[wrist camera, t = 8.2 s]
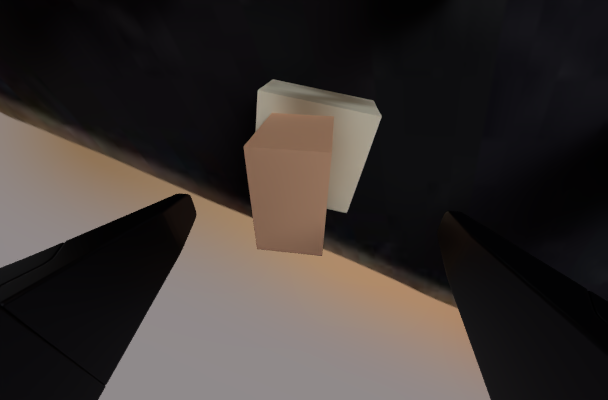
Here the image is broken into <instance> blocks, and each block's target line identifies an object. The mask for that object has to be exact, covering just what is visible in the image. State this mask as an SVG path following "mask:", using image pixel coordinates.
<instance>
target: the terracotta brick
mask: <svg viewBox="0 0 608 400" xmlns="http://www.w3.org/2000/svg"><path fill="white" fill-rule="evenodd" d="M333 126H334V116H318V115H301V114H283V113H271V114H270V115H269V117H268V118H267V119H266V120H265V121H264V123H263V124H262V125H261V126H260V127H259V129H258V130H257V131H256V132H255V133H254V135H253V136H252V137H251V138H250V139H249V141H248V142H247V143H246V144H245V145H244V154H245V161H246V169H247V176H248V184H249V192H250V199H251V207H252V214H253V222H254V229H255V236H256V245H257V249H262V250H272V251H281V252H290V253H301V254H310V255H318V256H322V251H323V240H324V230H325V220H326V209H327V199H328V189H329V178H330V168H331V157H332V143H333Z"/></svg>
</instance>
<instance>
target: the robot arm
mask: <svg viewBox="0 0 608 400" xmlns="http://www.w3.org/2000/svg"><path fill="white" fill-rule="evenodd" d="M195 218H196V210H195V207H194V204H193V201H192V198H191V196H190V195H188V194H175V195H173V196H171V197H168V198H166V199H164V200H161V201H159V202H157V203H155V204H152V205H150V206H147V207H145V208H143V209H140V210H138V211H136V212H133V213H131V214H129V215H126V216H124V217H121V218H119V219H117V220H115V221H112V222H110V223H107V224H105V225H103V226H100V227H98V228H96V229H93V230H91V231H89V232H86V233H84V234H82V235H79V236H77V237H75V238H72V239H70V240H67V241H66V242H65V243H60V244H58V245H56V246H53V247H51V248H49V249H46V250H44V251H41V252H39V253H36V254H34V255H32V256H29V257H27V258H25V259H22V260H19V261H17V262H14V263H12V264H9V265H7V266H4V267H2V268H0V400H98V399H99V397H100V395H101V394H102V392H103V390H104V388H105V385H106V384H107V382H108V381H109V379H110V377H111V375H112V374H113V372H114V370H115V368H116V367H117V365H118V363H119V361H120V360H121V358H122V356H123V354H124V352H125V351H126V349H127V347H128V345H129V344H130V342H131V340H132V338H133V336H134V335H135V333H136V331H137V329H138V328H139V326H140V324H141V322H142V321H143V319H144V317H145V315H146V313H147V311H148V310H149V308H150V306H151V305H152V302H153V301H154V299H155V297H156V296H157V294H158V292H159V290H160V289H161V287H162V285H163V283H164V281H165V280H166V278H167V276H168V274H169V273H170V271H171V269H172V267H173V265H174V264H175V262H176V260H177V258H178V257H179V255H180V253H181V251H182V249H183V246H184V244H185V242H186V240H187V237H188V235H189V233H190V230H191V228H192V226H193V223H194V221H195ZM437 236H438V240H439V245H440V249H441V254H442V258H443V262H444V267H445V271H446V275H447V278H448V281H449V284H450V287H451V290H452V293H453V295H454V298H455V301H456V304H457V307H458V309H459V312H460V315H461V318H462V320H463V323H464V326H465V329H466V332H467V334H468V337H469V340H470V343H471V345H472V348H473V351H474V354H475V357H476V359H477V362H478V365H479V368H480V371H481V373H482V376H483V379H484V382H485V385H486V387H487V390H488V393H489V396H490V399H491V400H608V302H607V301H606V300H604V299H602V298H601V297H599V296H598V295H596V294H594V293H593V292H591V291H587V289H586V288H584V287H583V286H581V285H580V284H578V283H576V282H575V281H573V280H571V279H570V278H568V277H566V276H565V275H563V274H562V273H560V272H558V271H557V270H555V269H553V268H552V267H550V266H549V265H547V264H545V263H544V262H542V261H540V260H539V259H537V258H535V257H534V256H532V255H531V254H529V253H527V252H526V251H524V250H522V249H521V248H519V247H517V246H516V245H514V244H513V243H511V242H509V241H508V240H506V239H504V238H503V237H501V236H500V235H498V234H496V233H495V232H493V231H491V230H490V229H488V228H486V227H485V226H483V225H482V224H480V223H478V222H477V221H475V220H473V219H472V218H470V217H469V216H467V215H465V214H464V213H462V212H458V211H447V212H446V213H445V214H444V216H443V219H442V221H441V223H440V226H439V228H438V232H437Z"/></svg>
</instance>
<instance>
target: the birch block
mask: <svg viewBox="0 0 608 400" xmlns="http://www.w3.org/2000/svg"><path fill="white" fill-rule="evenodd" d="M271 113H283V114H301V115H318V116H334V126H333V143H332V157H331V168H330V178H329V189H328V199H327V209H331V210H335V211H340V212H345V213H347V211H348V208H349V206H350V203H351V200H352V197H353V195H354V192H355V189H356V186H357V183H358V181H359V178H360V175H361V172H362V170H363V167H364V164H365V161H366V158H367V156H368V153H369V150H370V147H371V145H372V142H373V139H374V136H375V134H376V131H377V128H378V125H379V122H380V120H381V117H382V116H381V114H380V112H379V110H378V109H377V107H376V105H375V103H374V101H372V100H368V99H363V98H358V97H354V96H349V95H344V94H340V93H335V92H330V91H325V90H321V89H316V88H311V87H307V86H302V85H297V84H293V83H288V82H283V81H279V80H274V79H273V80H271V81H270V82H269V83H267V84H266V85H264V86H263V87H262V88H260V89H259V90H258V96H257V115H256V131H257V130H258V129H259V127H260V126H261V125H262V124H263V123H264V121H265V120H266V119H267V118H268V117H269V115H270V114H271Z"/></svg>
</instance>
